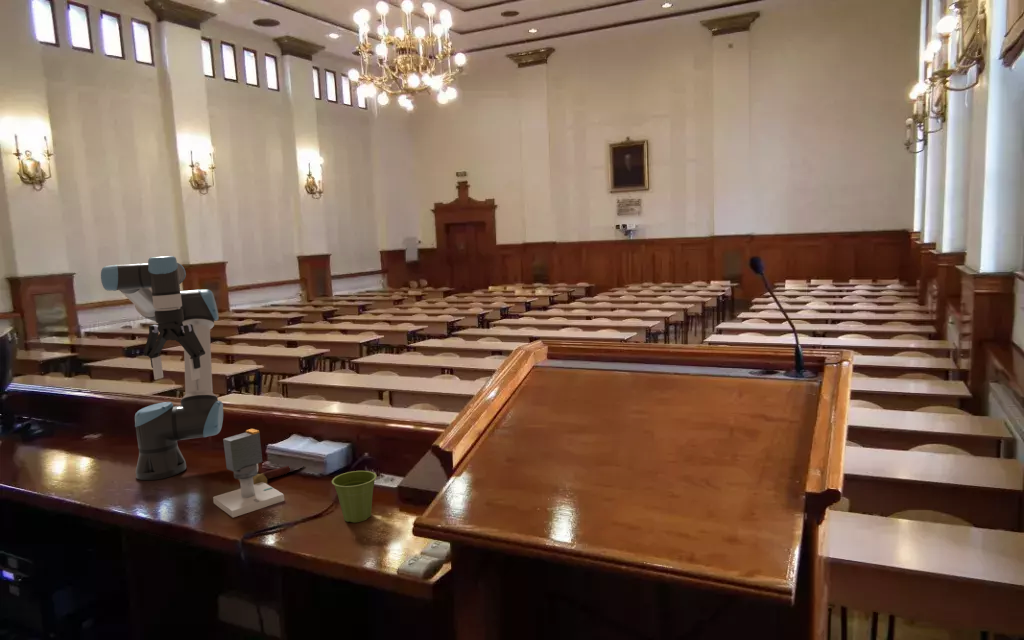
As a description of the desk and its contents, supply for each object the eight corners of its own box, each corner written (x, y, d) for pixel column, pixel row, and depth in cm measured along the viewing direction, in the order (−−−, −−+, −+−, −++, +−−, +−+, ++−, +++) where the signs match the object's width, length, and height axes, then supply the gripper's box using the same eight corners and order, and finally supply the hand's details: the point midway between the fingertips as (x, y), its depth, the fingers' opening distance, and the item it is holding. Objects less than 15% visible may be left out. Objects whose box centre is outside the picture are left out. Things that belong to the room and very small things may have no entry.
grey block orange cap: (237, 482, 187) (232, 439, 186) (225, 477, 192) (220, 436, 190) (265, 472, 194) (261, 431, 193) (254, 468, 198) (249, 428, 197)
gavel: (296, 455, 225) (313, 461, 218) (297, 468, 225) (313, 474, 218) (237, 470, 209) (253, 477, 202) (238, 484, 209) (254, 491, 203)
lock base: (213, 503, 194) (210, 477, 193) (263, 487, 205) (260, 463, 203) (232, 517, 184) (229, 490, 182) (284, 500, 194) (281, 474, 193)
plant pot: (388, 515, 180) (385, 475, 178) (352, 531, 171) (348, 490, 170) (362, 504, 188) (359, 467, 186) (326, 519, 179) (323, 480, 178)
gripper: (212, 306, 194) (220, 376, 197) (144, 307, 201) (153, 375, 204) (193, 310, 187) (202, 382, 190) (124, 311, 194) (133, 381, 197)
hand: (177, 379), depth 197 cm, fingers open, 13 cm apart
